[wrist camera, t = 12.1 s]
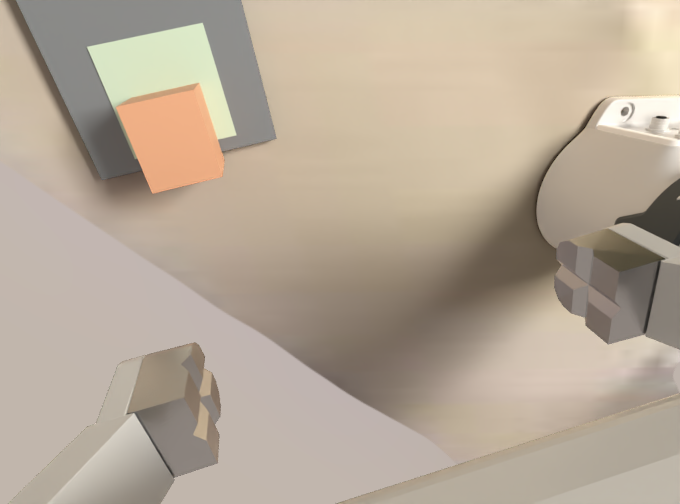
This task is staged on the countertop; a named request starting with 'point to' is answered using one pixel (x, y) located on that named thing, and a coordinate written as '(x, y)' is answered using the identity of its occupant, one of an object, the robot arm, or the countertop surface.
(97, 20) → the ticket board
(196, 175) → the stub
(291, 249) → the countertop surface
